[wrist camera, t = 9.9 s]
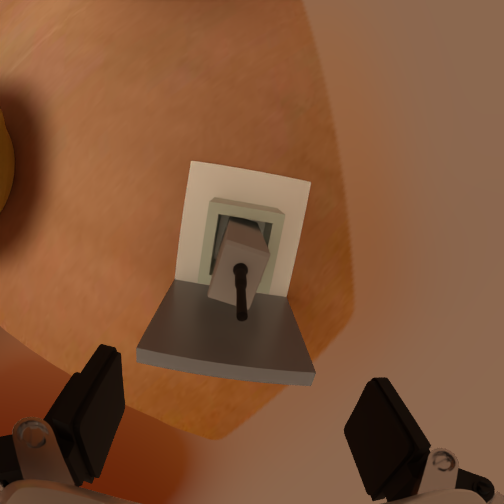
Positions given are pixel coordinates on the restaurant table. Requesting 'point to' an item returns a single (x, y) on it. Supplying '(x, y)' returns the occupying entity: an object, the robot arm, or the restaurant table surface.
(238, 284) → the vintage mobile phone
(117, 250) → the restaurant table surface
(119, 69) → the restaurant table surface
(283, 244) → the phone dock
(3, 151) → the planter bowl
